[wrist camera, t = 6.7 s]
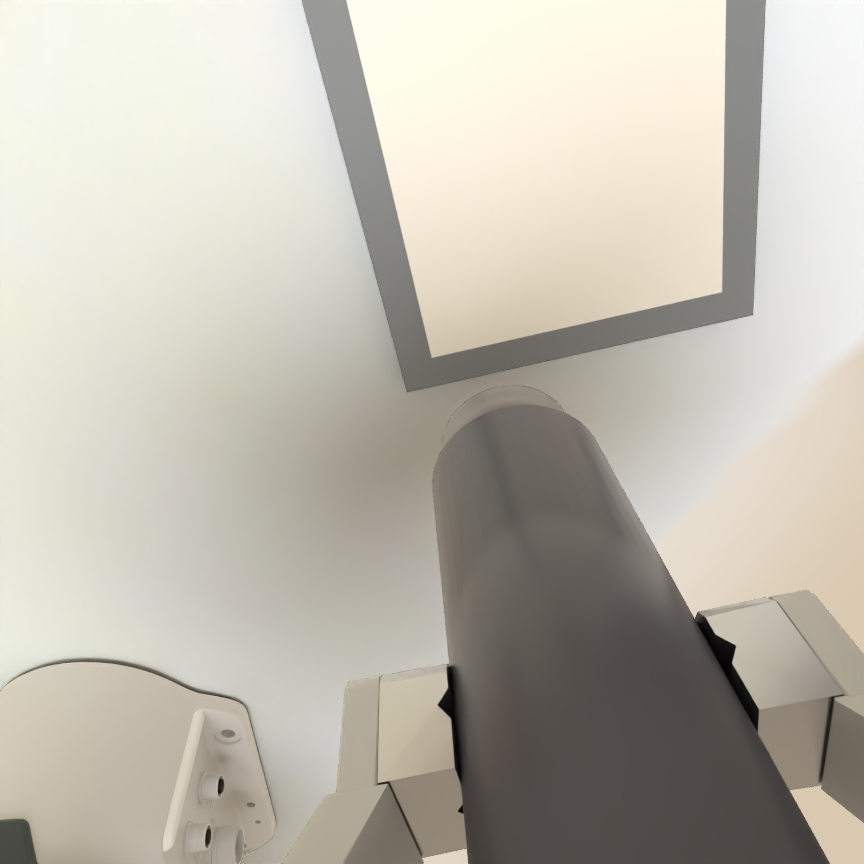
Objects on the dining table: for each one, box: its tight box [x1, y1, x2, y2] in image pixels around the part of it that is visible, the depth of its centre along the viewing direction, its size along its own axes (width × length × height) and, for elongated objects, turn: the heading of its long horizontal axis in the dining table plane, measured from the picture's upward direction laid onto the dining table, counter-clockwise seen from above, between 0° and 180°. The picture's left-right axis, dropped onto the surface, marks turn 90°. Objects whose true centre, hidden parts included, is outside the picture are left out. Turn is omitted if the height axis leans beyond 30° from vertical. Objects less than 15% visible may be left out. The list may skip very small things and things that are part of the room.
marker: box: [432, 386, 830, 864], centre depth 8 cm, size 4×4×14 cm
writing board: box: [302, 0, 766, 392], centre depth 24 cm, size 20×16×1 cm
